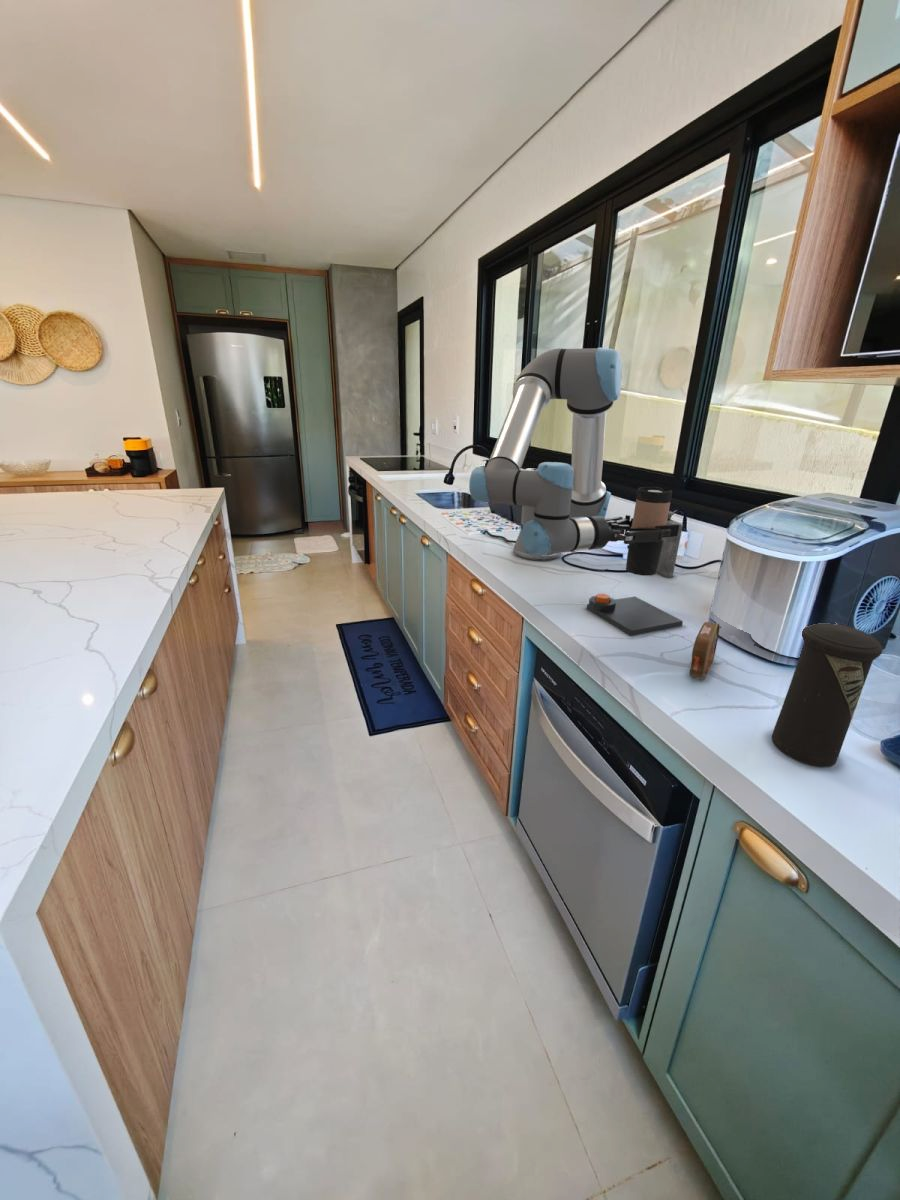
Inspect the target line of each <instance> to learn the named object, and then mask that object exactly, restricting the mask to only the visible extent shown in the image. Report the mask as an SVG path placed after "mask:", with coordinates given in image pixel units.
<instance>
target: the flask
mask: <svg viewBox="0 0 900 1200" xmlns="http://www.w3.org/2000/svg"><path fill="white" fill-rule="evenodd" d="M673 513H674V512H673V511H671V510H669V513H668V518H667V524H666V525H674V524H678V525H679V530H678V535H677V536H674V537H664V539H663V545H662V549H661V554H660V558H659V563H658V567H657V571H656V574H658V575H660V576H661V577H664V578H673V576H674V572H675V567H676V563H677V562H676V561H677V557H678V552H679V547H680V542H681V538H682V537H681V536H682V532H683V526H684V524H683V523H682V522H679V521H676V520H673V519H672V516H673Z"/></svg>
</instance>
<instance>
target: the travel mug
mask: <svg viewBox="0 0 900 1200" xmlns="http://www.w3.org/2000/svg"><path fill="white" fill-rule="evenodd" d="M672 495H673V490H672V489H670V490H669V491H666V490H664V489H663V488H662V487H657V486H640V487H638V489H637V494H636V499H635V505H634V510H633V517H632V518H633V522H632V527H646V528H655V526H663V525H666V524H667V518H668V513H669V511H670V507H671V501H672V500H671V499H672V497H673V496H672ZM663 539H664V538H662V541H660V542H641V543H631V544H628V550H627V557H626V565H625V570H626V572H628V573H630V574H633V575H637V576H647V577H648V576H649V577H650V576H654V575H656V574H657V573H656V571H657V567H658V563H659V558H660V554H661V549H662V545H663Z"/></svg>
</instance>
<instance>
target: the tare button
mask: <svg viewBox="0 0 900 1200" xmlns="http://www.w3.org/2000/svg"><path fill="white" fill-rule="evenodd" d="M595 596H596V602H599V603H605V604H606V603H609V601H610V598H611V596H610V595H609V594H607V593H597V594H596V595H595Z"/></svg>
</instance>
